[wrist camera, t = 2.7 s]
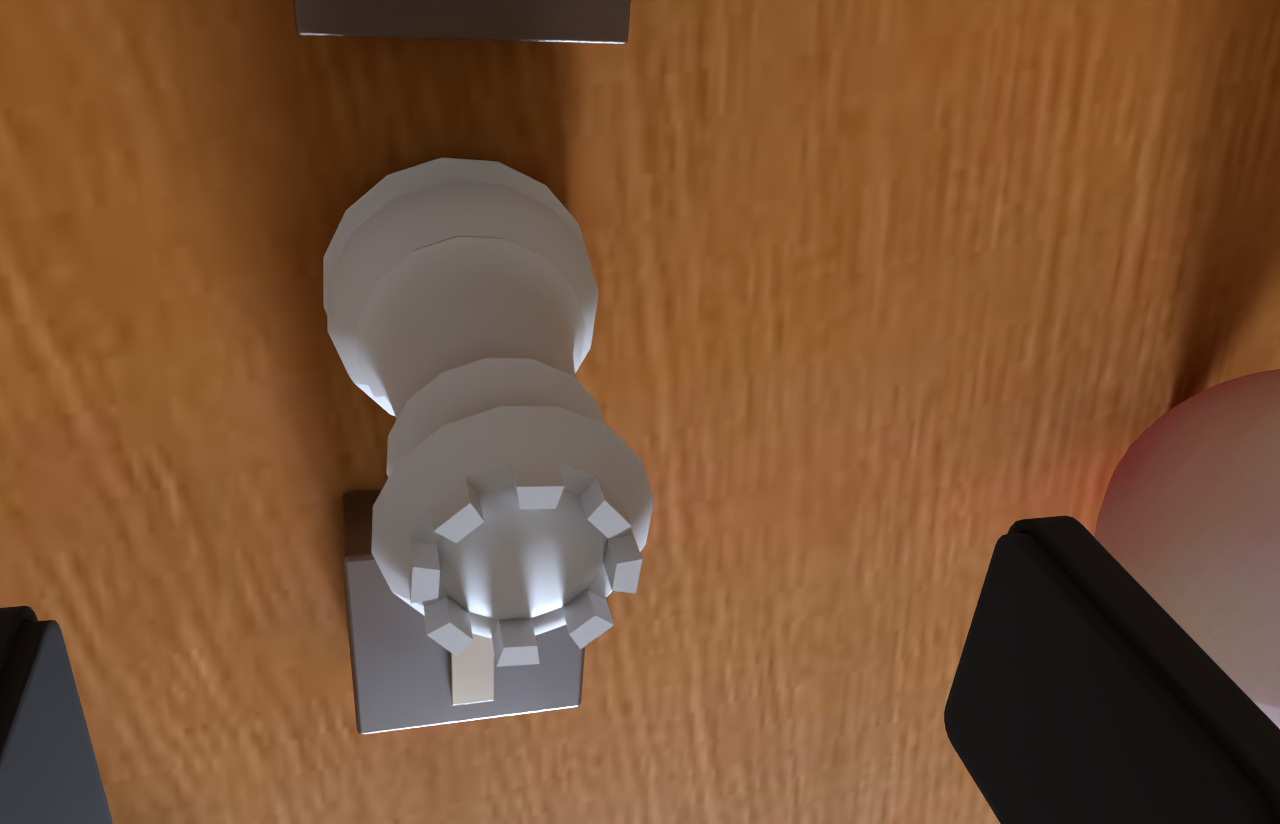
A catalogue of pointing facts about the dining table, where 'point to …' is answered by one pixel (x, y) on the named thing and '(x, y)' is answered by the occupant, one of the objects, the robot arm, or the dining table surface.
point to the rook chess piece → (485, 406)
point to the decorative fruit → (1209, 526)
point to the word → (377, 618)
